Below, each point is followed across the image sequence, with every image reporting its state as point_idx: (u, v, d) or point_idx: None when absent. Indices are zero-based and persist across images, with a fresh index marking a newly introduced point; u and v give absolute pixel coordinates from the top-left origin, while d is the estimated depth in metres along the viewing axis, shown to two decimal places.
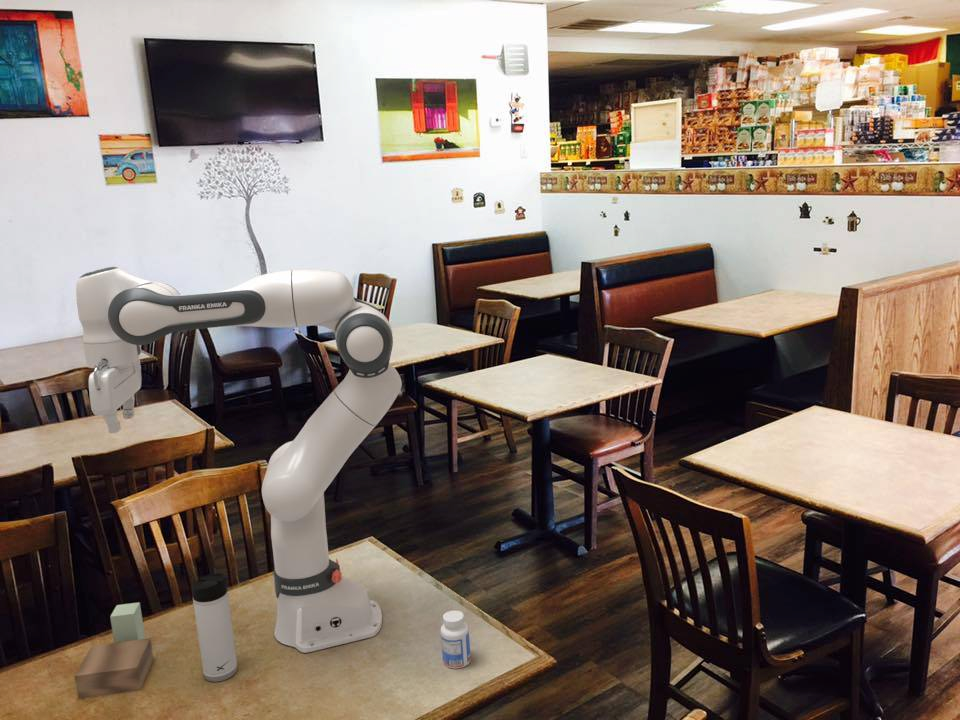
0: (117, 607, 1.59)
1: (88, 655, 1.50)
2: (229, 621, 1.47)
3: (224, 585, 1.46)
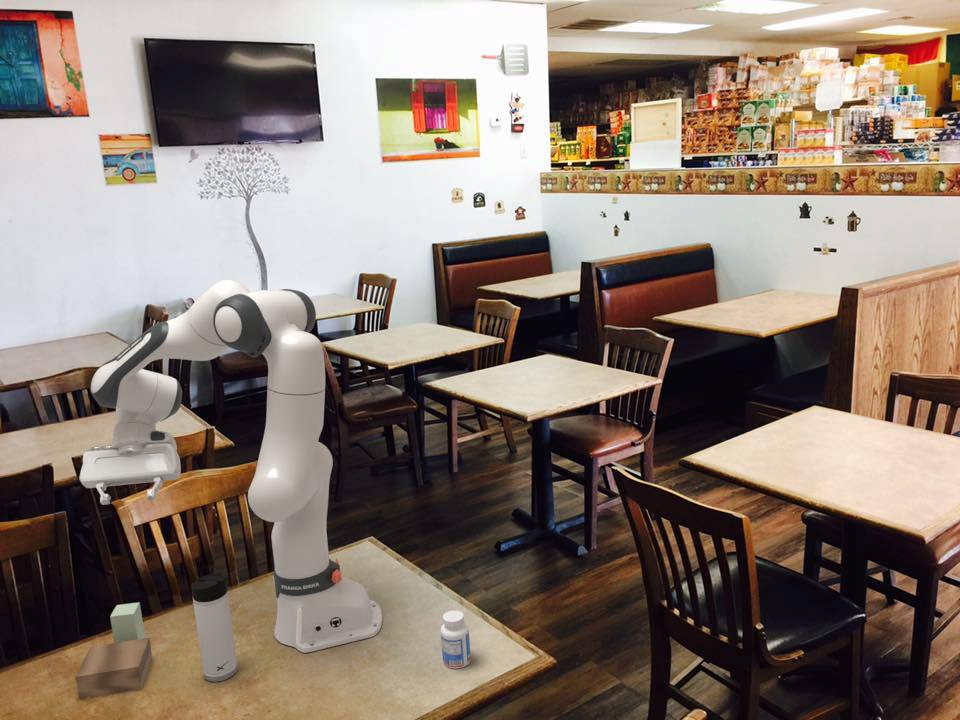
0: (117, 607, 1.59)
1: (87, 656, 1.50)
2: (229, 621, 1.47)
3: (224, 585, 1.46)
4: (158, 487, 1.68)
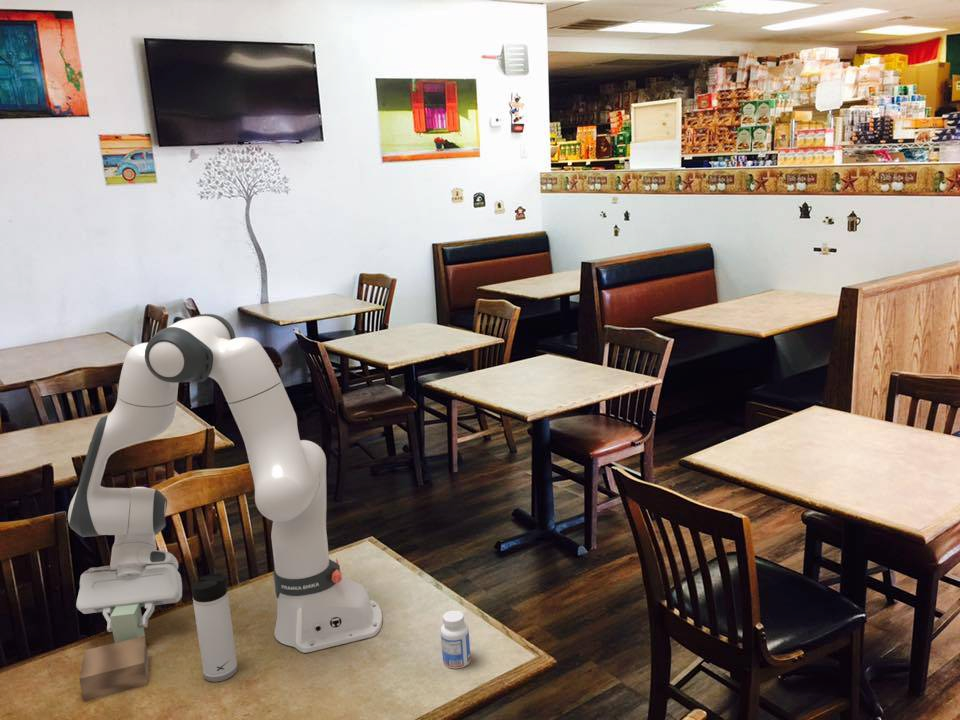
0: (117, 607, 1.59)
1: (85, 658, 1.49)
2: (229, 621, 1.47)
3: (224, 585, 1.46)
4: (149, 613, 1.60)
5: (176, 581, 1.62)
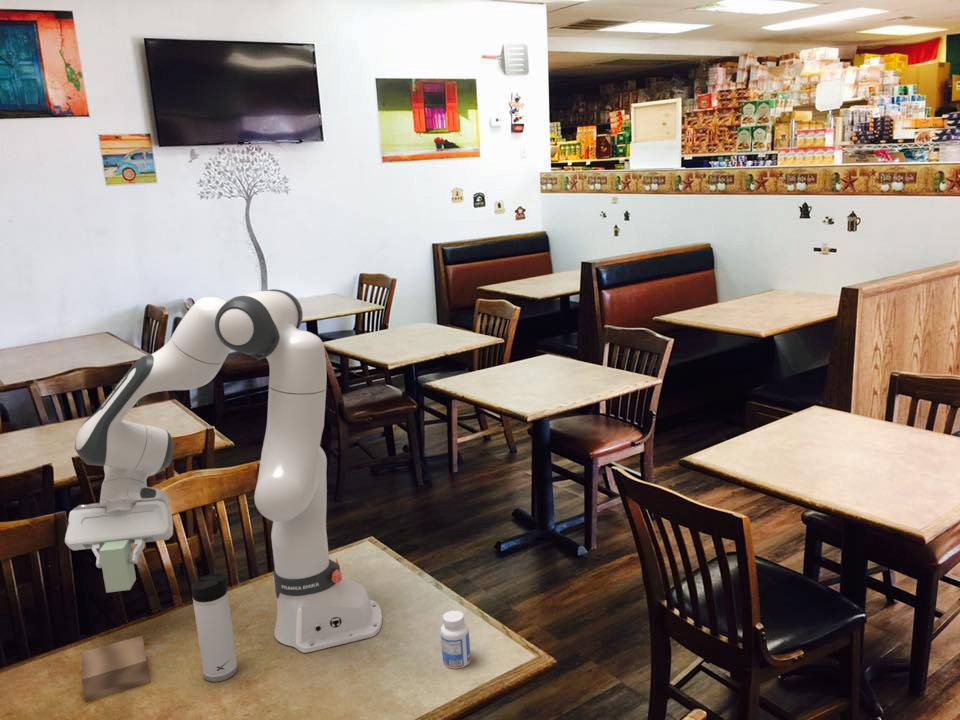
0: (106, 543, 1.56)
1: (84, 660, 1.48)
2: (229, 621, 1.47)
3: (224, 585, 1.46)
4: (140, 550, 1.57)
5: (167, 517, 1.59)
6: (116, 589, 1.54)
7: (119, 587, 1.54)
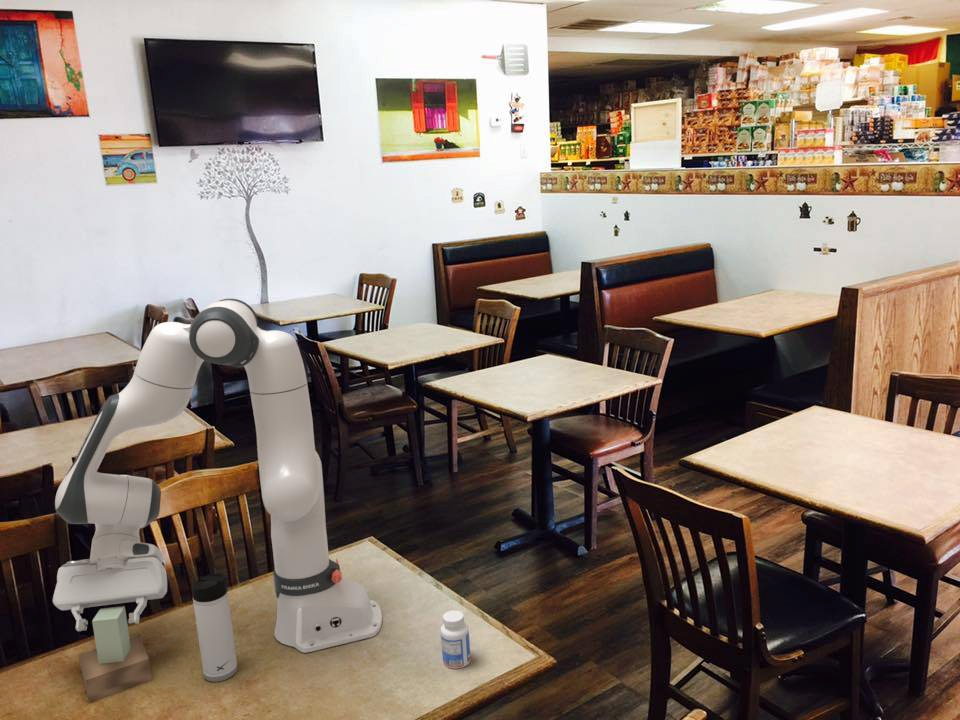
0: (100, 611, 1.48)
1: (83, 662, 1.48)
2: (229, 621, 1.47)
3: (224, 585, 1.46)
4: (141, 609, 1.49)
5: (160, 575, 1.51)
6: (109, 660, 1.47)
7: (112, 658, 1.47)
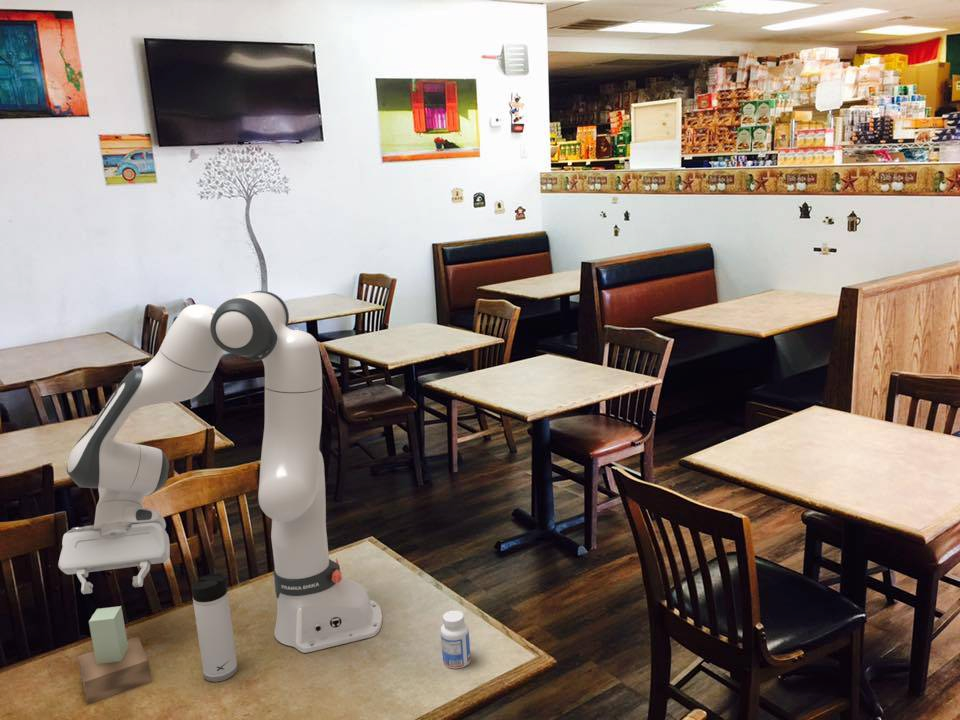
0: (97, 611, 1.48)
1: (82, 663, 1.47)
2: (229, 621, 1.47)
3: (224, 585, 1.46)
4: (145, 572, 1.53)
5: (163, 540, 1.55)
6: (107, 660, 1.47)
7: (110, 658, 1.47)
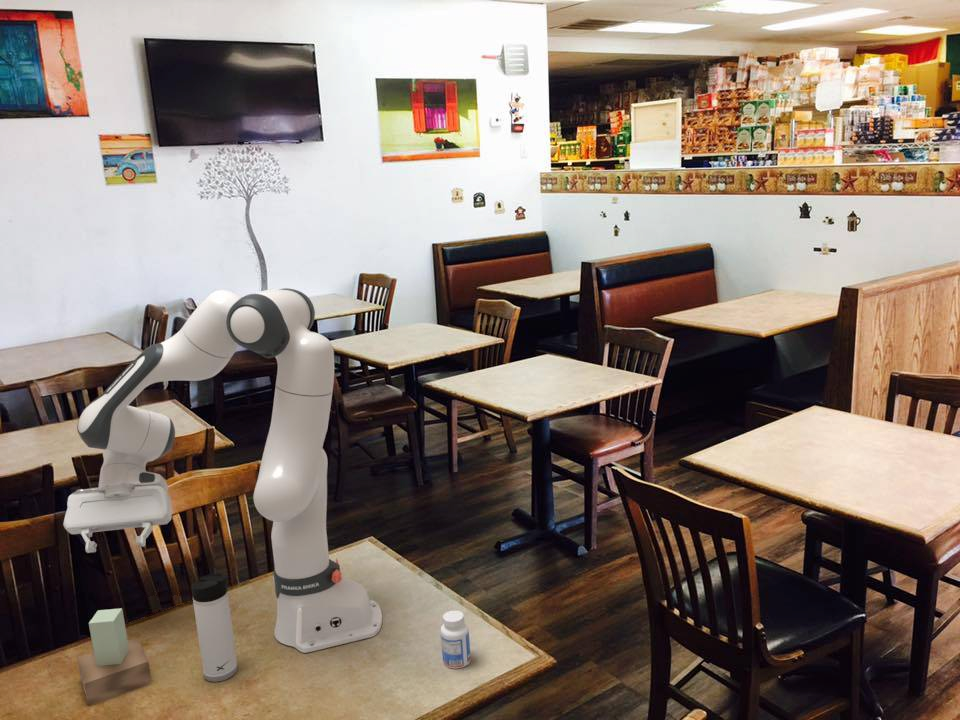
0: (98, 613, 1.48)
1: (82, 665, 1.47)
2: (229, 621, 1.47)
3: (224, 585, 1.46)
4: (147, 533, 1.57)
5: (165, 502, 1.59)
6: (107, 663, 1.46)
7: (110, 661, 1.46)
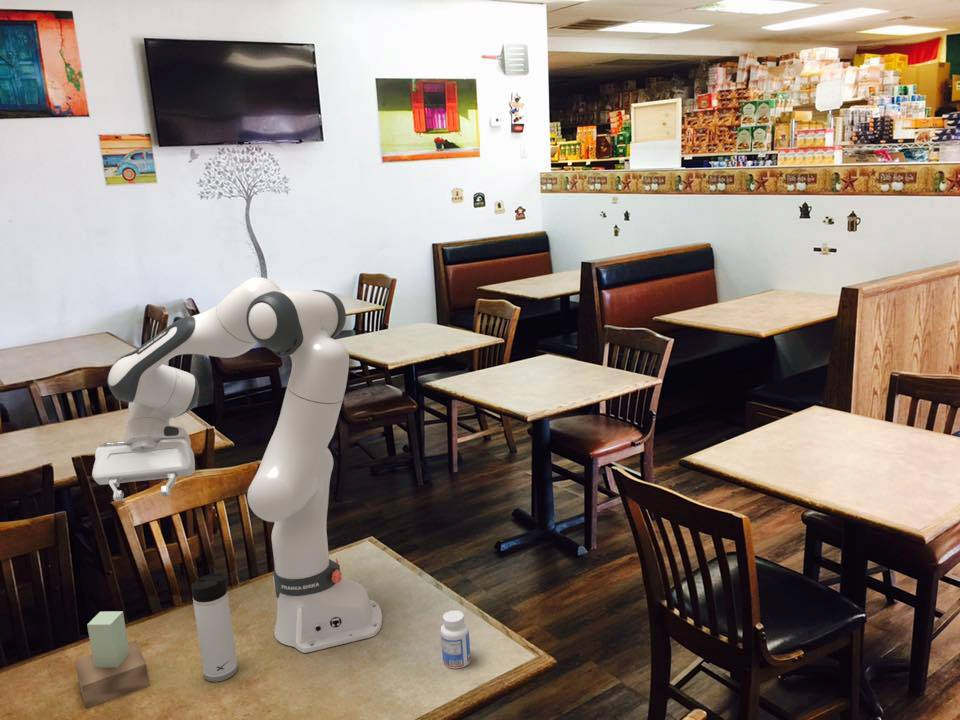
0: (99, 614, 1.47)
1: (79, 667, 1.46)
2: (229, 621, 1.47)
3: (224, 585, 1.46)
4: (172, 483, 1.64)
5: (189, 454, 1.66)
6: (104, 665, 1.46)
7: (107, 663, 1.45)
